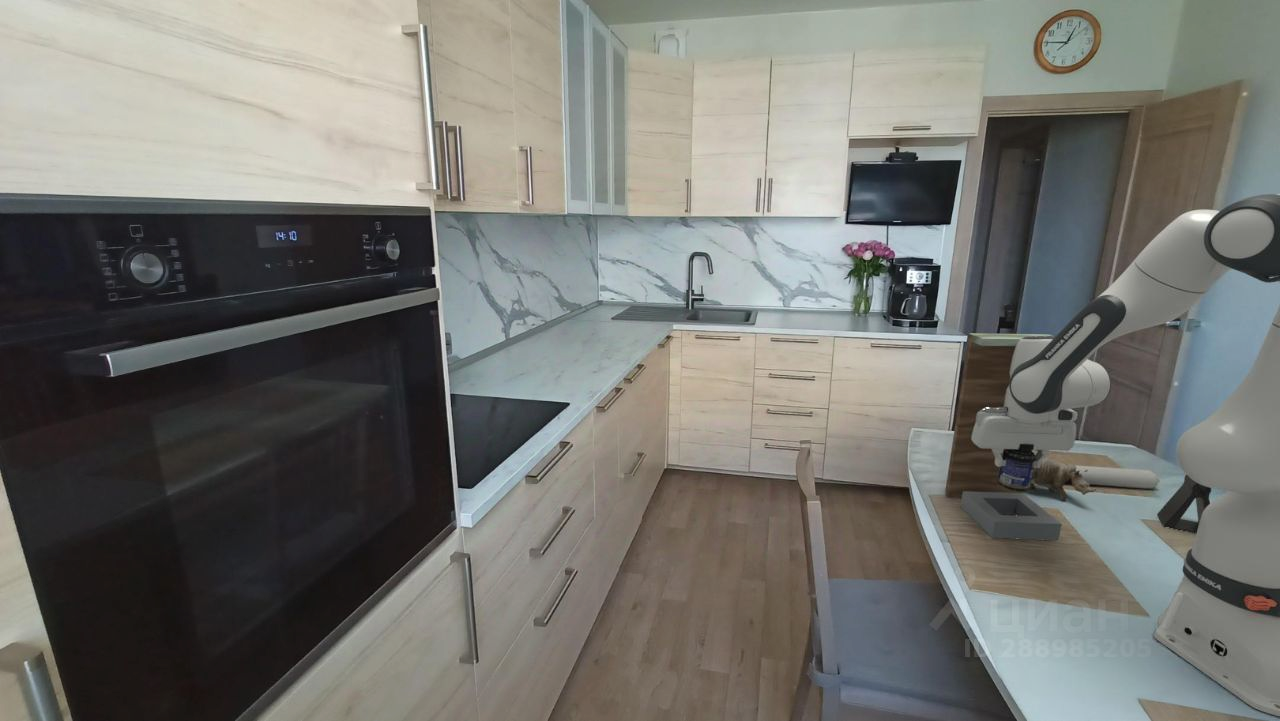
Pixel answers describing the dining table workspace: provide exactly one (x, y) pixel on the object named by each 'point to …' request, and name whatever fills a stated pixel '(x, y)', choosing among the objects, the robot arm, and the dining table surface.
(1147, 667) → the dining table surface
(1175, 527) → the phone stand
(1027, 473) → the pill bottle
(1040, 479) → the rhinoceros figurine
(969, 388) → the wood grain plank
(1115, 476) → the tube
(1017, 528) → the socket block
